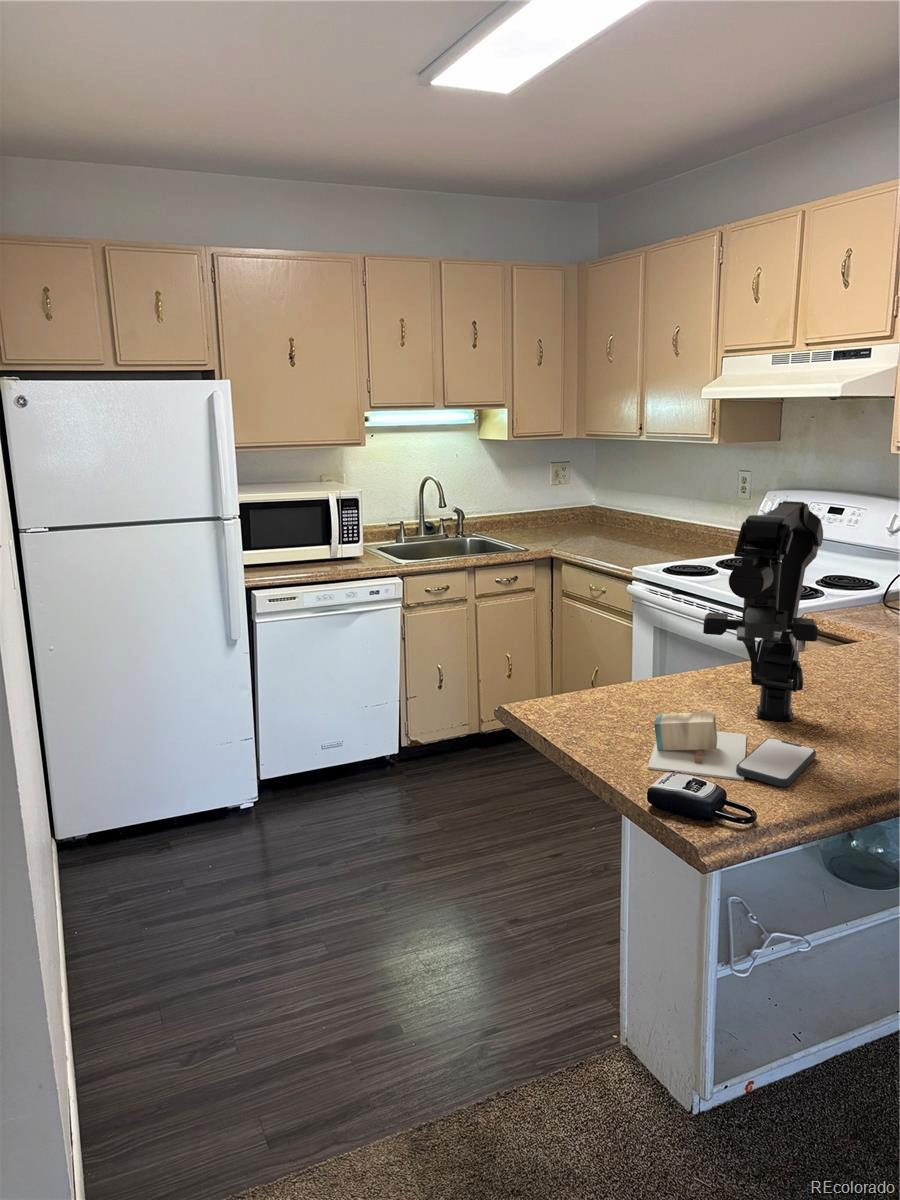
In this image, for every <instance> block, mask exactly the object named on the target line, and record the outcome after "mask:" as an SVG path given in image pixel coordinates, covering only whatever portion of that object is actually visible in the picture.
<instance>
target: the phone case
mask: <svg viewBox="0 0 900 1200" xmlns="http://www.w3.org/2000/svg"><path fill="white" fill-rule="evenodd" d="M816 757H817V751H816V749H814V748H813V747H809V746H805V745H802V744H797V743H794V742H790V741H787V740H782V739H778V738H774V737H773V738H772V737H770V738H769V737H767V738H766V739H765V740H764V741H763V742H761V743H760V744H759V745H757V746H756V748H754V749H753V750H752V751H751V752H750V753H748V755H746V756H745V758H744V759H743V760H742V761H741V762H740V763H739V764H738V765H737V766H736V772H737V774H739V775H741V776H744V778H745V777H746V778H748V779H752V780H756V781H758V782H763V783H766V784H769V785H772V786H777V787H781V788H787V787H789V786H790V785H791V784H792V783H793V782H794V781H795V779H797V778H798V777H799V775H801V774H802V772H804V770H805V769H806V768H807V767H808V766H809V765H810V764H811V762H813V761H814V759H816Z"/></svg>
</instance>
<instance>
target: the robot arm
mask: <svg viewBox="0 0 900 1200" xmlns="http://www.w3.org/2000/svg"><path fill="white" fill-rule="evenodd" d="M823 539H824V529H823V524H822V520H821V519H820V517H818V516H817V514H815V513H813V512H812V511H811V510H810V508H809V504H808V503H805V502H804V501H787V500H783V501H782V502H781V501H780V502H779V503H778V505H777V507H775V508H774V509H772V510H771V511H769V512H768V513H767V514H756V515H755V514H753V515H752V514H751V515H748V516H747V517H746V519H745V521H743V522H742V524H741V527H740V530H739V534H738V539H737V541H736V545H735V550H734V553H733V554H734V555H733V556H734V557H736V558H741V564H740V565H737V566H736V567H734V568H733V570H732V571H731V573H730V574H729V577H728V586H729V588H730V591H732V593H733V594H734V595H735V596H737V597H738V598H740V599H743V609H742V617H741V618H742V619H734V618H733V619H732V618H729V613H722V612H708V613H706V614H705V615H704V619H703V629H702V630H703V634H706V635H714V636H722V635H723V634H725V633H727V630H732V631H733V630H734V631H736V633H737V634H736V640H737V641H739V642H742V643H743V645H744V647H745V648H746V651H747V653H748V657H749V660H750V674H751V675H750V677H751V678H750V680H751V686H760V692H759V693H760V696H759V705H757V706H756V719H758V720H759V719H760V720H769V721H770V720H771V721H778V722H780V721H781V722H790V723H791V722H793V721H794V720H793V718H794V717H793V709H792V708H791V707H792V706H791V705H792V697H793V696H792V693H793V692H795V693H797V691H803V689H804V672H803V669H802V665H801V662H800V660H799V657H800V655H799V654H800V653H799V651H798V650H797V647H796V644H795V642H794V639H795V640H796V641H798V642H801V641H802V642H817V641H818V633H819V631H818V630H819V629H818V628H819V627H818V624H817V621H816V620H815V619H814V618H803V617H798V612H799V606H800V602H801V595H802V590H803V583H804V579H805V572H806V569H807V567H808V566H809V565H810V564H811V563H812V562H813V561H814V560H815V559H816V557H817V555H818V550H819V548H820V547H822V545H823ZM756 639H759V641H758V642H757V645H756Z"/></svg>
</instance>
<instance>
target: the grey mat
mask: <svg viewBox="0 0 900 1200" xmlns="http://www.w3.org/2000/svg"><path fill="white" fill-rule="evenodd" d="M717 737H718V740H717V747H716V749H703V750H661V751H657V742H656V741H655V742H654V745H653V749H652V752H651V755H650V758H649V762H648V765H647V769H648V770H654V771H663V772H669V771H675V772H674V773H677V772H681V773H680V774H686V775H697V776H703V777H712V778H718V779H719V778H721V779H727V780H728V779H729V780H735V781H743V782H744V781H745V776H741V775H739V774H737V772H736V766H737V765H738V764H739V763H740V762H741V761H742V760H743V759H744V758H745V757H746V752H747V751H746V750H747V749H746V748H747V734H746V733H735V732H726V731H718V730H717Z"/></svg>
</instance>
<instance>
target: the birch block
mask: <svg viewBox="0 0 900 1200" xmlns="http://www.w3.org/2000/svg"><path fill="white" fill-rule="evenodd" d="M653 724H654V733H655V734H654V735H655V742H657V751H661V750H703V749H716V747H717V740H718V737H717V731H718V729H717V720H716V713H715V711H711V712H709V711H706V712H703V711H702V712H688V713H687V712H683V713H680V712H679V713H659V714H656V717H655V720H654V722H653Z"/></svg>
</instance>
